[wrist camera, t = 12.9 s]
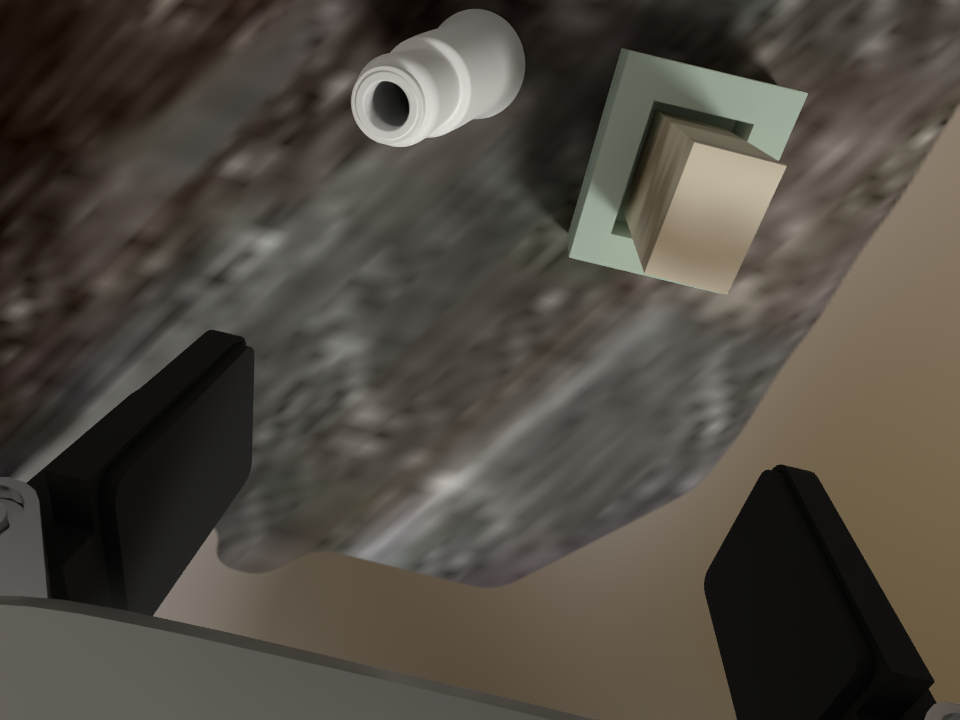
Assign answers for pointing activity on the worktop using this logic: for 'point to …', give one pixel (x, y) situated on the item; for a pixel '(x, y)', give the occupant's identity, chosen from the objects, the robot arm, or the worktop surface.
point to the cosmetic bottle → (440, 80)
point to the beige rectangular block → (697, 200)
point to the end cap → (624, 126)
